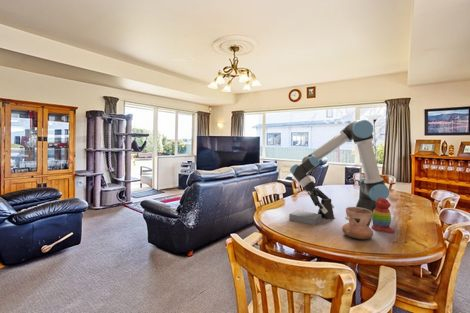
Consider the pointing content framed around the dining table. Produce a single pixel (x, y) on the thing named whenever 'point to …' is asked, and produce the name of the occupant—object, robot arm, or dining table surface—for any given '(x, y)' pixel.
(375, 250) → the dining table surface
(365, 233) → the ceramic jug
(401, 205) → the dining table surface
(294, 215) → the plinth
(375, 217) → the stacking bear
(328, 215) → the black tapered block
